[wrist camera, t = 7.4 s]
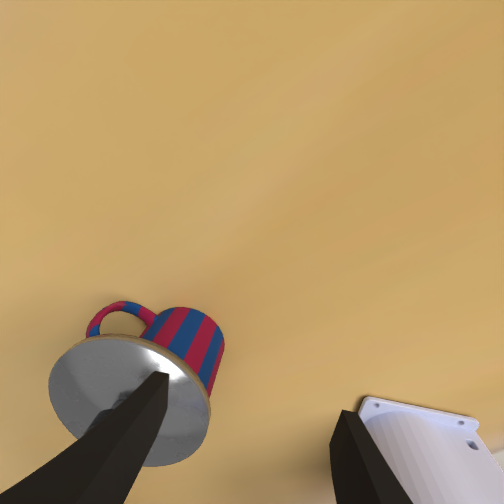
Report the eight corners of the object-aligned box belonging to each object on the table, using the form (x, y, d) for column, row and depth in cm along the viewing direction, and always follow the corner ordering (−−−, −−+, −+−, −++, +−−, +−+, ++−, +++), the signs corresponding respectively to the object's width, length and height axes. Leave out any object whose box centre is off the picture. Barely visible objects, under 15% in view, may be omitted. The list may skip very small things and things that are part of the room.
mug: (180, 380, 25) (145, 457, 19) (110, 297, 23) (42, 352, 16) (239, 353, 23) (223, 428, 17) (170, 260, 21) (120, 306, 14)
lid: (218, 352, 15) (194, 426, 11) (203, 468, 18) (181, 557, 14) (48, 319, 15) (-35, 376, 11) (65, 438, 19) (6, 514, 15)
